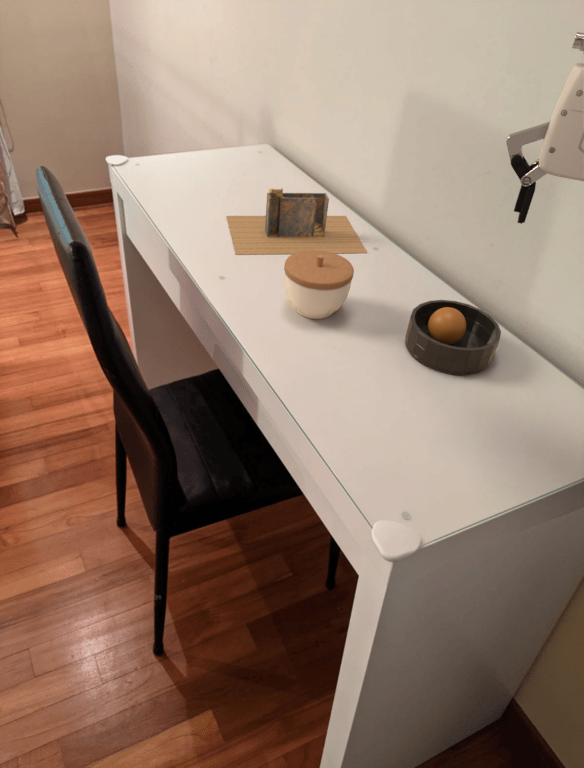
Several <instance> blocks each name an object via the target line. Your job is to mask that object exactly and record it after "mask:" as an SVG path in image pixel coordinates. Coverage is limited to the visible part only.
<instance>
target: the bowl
mask: <svg viewBox="0 0 584 768" xmlns="http://www.w3.org/2000/svg"><path fill="white" fill-rule="evenodd" d="M445 307H450V308H454V309H457V310H458V311H460V312H461V313H462V315H463V316H464V318H465V320H466V331H465V334H464V335H463V337H462V338H461V339H460V340H459V341H458V342H456V343H454V344H450V345H447V344H443V343H441V342H438V341H436V340H434V339H432V337H431V336H430V334H429V331H428V322H429V319H430V317H431V315H432V314H433V313H434V312H435V311H437V310H438V309H441V308H445ZM501 335H502V330H501V328H500V326H499V324H498V322H497V321H496V320H495V319H494V318H493V317H492V316H491V315H489V314H488V313H486V312H485V311H484V310H483V309H481V308H478V307H476V306H473V305H471V304H468V303H464V302H461V301H457V300H447V299H436V300H435V299H434V300H428V301H425V302H422V303H419V304H418V305H417V306H415V307H414V308H413V309H412V311H411V314H410V317H409V320H408V325H407V328H406V333H405V339H404V344H405V348H406V350H407V352H408V353H409V354H410V355H411V357H412V358H414V360H415V361H417V362H418V363H419V364H421V365H423V366H425V367H427V368H429V369H430V370H433V371H435V372H439V373H442V374H447V375H454V376H470V375H475V374H478V373H481V372H483V371H485V370H486V369H487V368H488V367H489V366H490V365H491V363H492V361H493V360H494V357H495V354H496V351H497V349H498V346H499V344H500V340H501Z"/></svg>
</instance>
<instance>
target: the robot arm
mask: <svg viewBox="0 0 584 768" xmlns="http://www.w3.org/2000/svg"><path fill="white" fill-rule="evenodd" d="M571 49H576V50H579V52H582V55H584V32H581V31H580V32H579V31H576V33H575V36H574V39H573V42H572V45H571ZM542 140H543V141H542ZM538 141H542V144H541V148H540V152H539V156H538V159H536V160H535V161H533V162H532V163H531V164H529V163H528V161H527V159H526V158H525V156H524V153H523V146H525V145H528V144H531V143H534V142H538ZM506 147H507V151H508V156H509V161H510V166H511V168H512V169H513V171H514V173H515V174H516V176H517V178H518V179H519V181H520V184H521V185H520V188H519V192H518V194H517V198H516V201H515V204H514V209H513V212H515V213H518V217H517V224H524V223H526V219H527V216H528V213H529V210H530V207H531V204H532V201H533V198H534V194H535V192H536V187H537V186H536V185H537V181H539V180H540V179H541V178H543V177H544V176H546V175H551V176H555V177H559V178H563V179H568V180H574V181H580V182H584V61H577V62H576V63H575V64H574V66H573V68H572V69H571V71H570V73H569V75H568V77H567V79H566V81H565V83H564V86H563V89H562V91H561V93H560V96H559V97H558V100H557V101H556V104H555V107H554V109H553V112H552V115H551V118H550V120H549V121H548V122H545V123H544V122H543V123H541V124H538V125H535V126H532V127H529V128H525V129H521V130H520V131H515V132H514V133H510V134H508V136H507V138H506Z"/></svg>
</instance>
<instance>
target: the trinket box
mask: <svg viewBox="0 0 584 768" xmlns="http://www.w3.org/2000/svg"><path fill="white" fill-rule="evenodd" d="M283 270H284V277H283V283H284V285H283V286H284V291H285V295H286V298H287V300H288V302H289V303H290V305H291V306H292V307H293V308H294V309H295V311H296V312H297V313H298V314H299V315H300V316H302V317H304V318H307V319H310V320H311V319H312V320H322V319H326V318H329V317H330V316H332V314H334V313H336V311H338V310H339V309H341V308H342V306H343V305H344V303H345V302H346V300H347V298H348V296H349V293H350V291H351V287H352V280H353V278H354V274H355V267H354V266H353V265H352V263H351V262H350V261H349V260H348V259H347V258H345V257H343V256H342V255H339V253H331V252H328V251H321V250H305V251H300V252H297V253H294V254H289V256H288V257H287V258H286V259H285V261H284V266H283Z"/></svg>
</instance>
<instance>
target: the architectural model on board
mask: <svg viewBox="0 0 584 768" xmlns="http://www.w3.org/2000/svg"><path fill="white" fill-rule="evenodd" d="M283 190H284V188H283V187H281V188H269V189H268V192H267V193H266V206H265V207H266V208H265V215H226V216H225V218H226V221H227V225H228V229H229V233H230V238H231V241H232V246H233V250H234V254H235V255H238V256H239V255H247V256H248V255H292V254H294V253H297V252H300V251H305V250H321V251H328V252H331V253H335V254H368V251H367V249H366V248H365V245H363V243H362V241H361V239H360V237H359V236H358V234H357V232H356V230H355V229H354V227H353V225H352V224H351V222H350V220H349V219H348V217H347V215H328V210H329V203H330V198H329V196H328V194H327V193H326V192H284V191H283Z"/></svg>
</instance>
